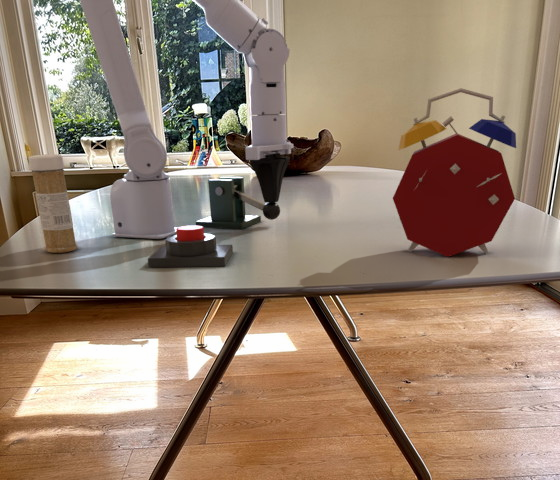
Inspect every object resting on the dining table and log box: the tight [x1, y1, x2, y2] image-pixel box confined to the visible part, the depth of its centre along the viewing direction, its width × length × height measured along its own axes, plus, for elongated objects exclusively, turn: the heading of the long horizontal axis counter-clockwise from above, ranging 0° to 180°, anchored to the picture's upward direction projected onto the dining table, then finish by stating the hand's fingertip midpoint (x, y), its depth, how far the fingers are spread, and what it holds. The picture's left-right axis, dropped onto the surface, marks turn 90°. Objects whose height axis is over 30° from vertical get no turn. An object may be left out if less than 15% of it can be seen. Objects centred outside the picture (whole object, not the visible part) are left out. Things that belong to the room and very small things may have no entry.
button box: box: [147, 233, 234, 268], centre depth 80 cm, size 10×8×3 cm
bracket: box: [195, 176, 262, 230], centre depth 105 cm, size 9×8×8 cm
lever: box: [222, 179, 281, 221], centre depth 103 cm, size 12×3×3 cm, turn 68°
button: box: [175, 224, 205, 241], centre depth 79 cm, size 4×4×2 cm
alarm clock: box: [392, 87, 517, 258], centre depth 75 cm, size 15×9×20 cm, turn 76°
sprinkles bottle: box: [27, 153, 78, 254], centre depth 86 cm, size 5×5×14 cm
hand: (271, 201), depth 102 cm, fingers closed, pressing on lever
